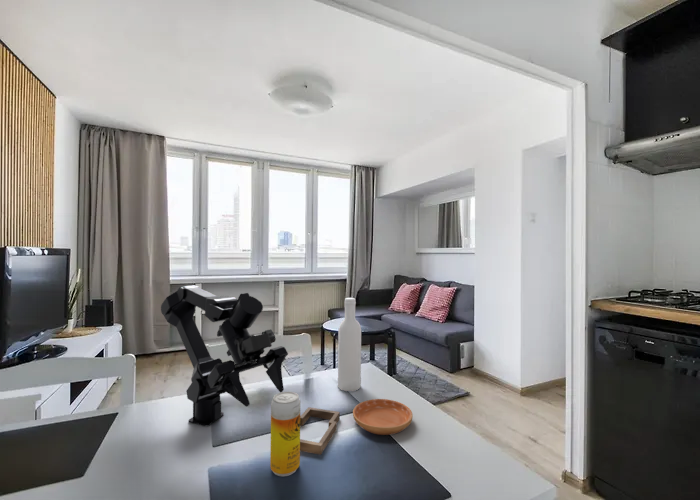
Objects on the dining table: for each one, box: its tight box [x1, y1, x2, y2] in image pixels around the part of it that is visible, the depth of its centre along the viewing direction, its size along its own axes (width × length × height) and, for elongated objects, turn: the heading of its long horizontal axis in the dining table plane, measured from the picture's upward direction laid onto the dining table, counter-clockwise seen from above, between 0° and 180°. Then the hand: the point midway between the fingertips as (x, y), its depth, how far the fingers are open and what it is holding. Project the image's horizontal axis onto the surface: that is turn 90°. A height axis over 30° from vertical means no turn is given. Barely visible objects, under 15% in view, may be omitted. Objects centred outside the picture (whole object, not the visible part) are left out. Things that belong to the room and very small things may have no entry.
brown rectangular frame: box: [300, 406, 341, 455], centre depth 83 cm, size 11×16×2 cm
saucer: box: [352, 398, 414, 436], centre depth 88 cm, size 16×16×3 cm
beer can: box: [269, 391, 301, 477], centre depth 69 cm, size 6×6×15 cm
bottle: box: [337, 297, 362, 392], centre depth 111 cm, size 8×8×30 cm
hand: (266, 398), depth 73 cm, fingers open, 9 cm apart
